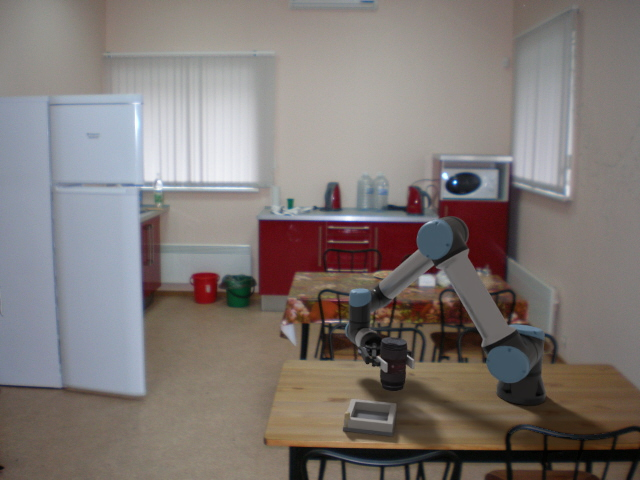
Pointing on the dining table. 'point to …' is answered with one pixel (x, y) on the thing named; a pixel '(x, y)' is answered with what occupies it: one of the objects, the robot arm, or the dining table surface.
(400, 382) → the camera lens
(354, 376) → the dining table surface
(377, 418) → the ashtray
